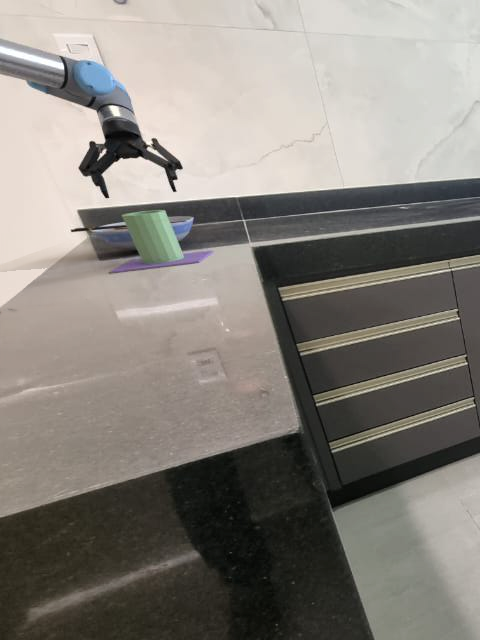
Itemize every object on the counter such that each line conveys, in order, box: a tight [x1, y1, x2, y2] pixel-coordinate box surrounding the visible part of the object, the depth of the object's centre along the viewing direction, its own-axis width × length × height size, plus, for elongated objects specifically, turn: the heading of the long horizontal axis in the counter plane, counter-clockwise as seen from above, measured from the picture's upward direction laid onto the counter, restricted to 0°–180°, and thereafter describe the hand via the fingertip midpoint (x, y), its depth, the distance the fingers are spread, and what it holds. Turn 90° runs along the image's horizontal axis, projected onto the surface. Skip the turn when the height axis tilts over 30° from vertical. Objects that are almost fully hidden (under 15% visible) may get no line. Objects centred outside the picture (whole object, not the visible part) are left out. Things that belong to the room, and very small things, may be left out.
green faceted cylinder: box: [121, 209, 184, 264], centre depth 133 cm, size 8×8×12 cm
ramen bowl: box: [70, 215, 194, 252], centre depth 151 cm, size 25×23×8 cm
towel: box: [108, 250, 214, 274], centre depth 136 cm, size 18×14×1 cm
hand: (140, 191), depth 137 cm, fingers open, 13 cm apart
